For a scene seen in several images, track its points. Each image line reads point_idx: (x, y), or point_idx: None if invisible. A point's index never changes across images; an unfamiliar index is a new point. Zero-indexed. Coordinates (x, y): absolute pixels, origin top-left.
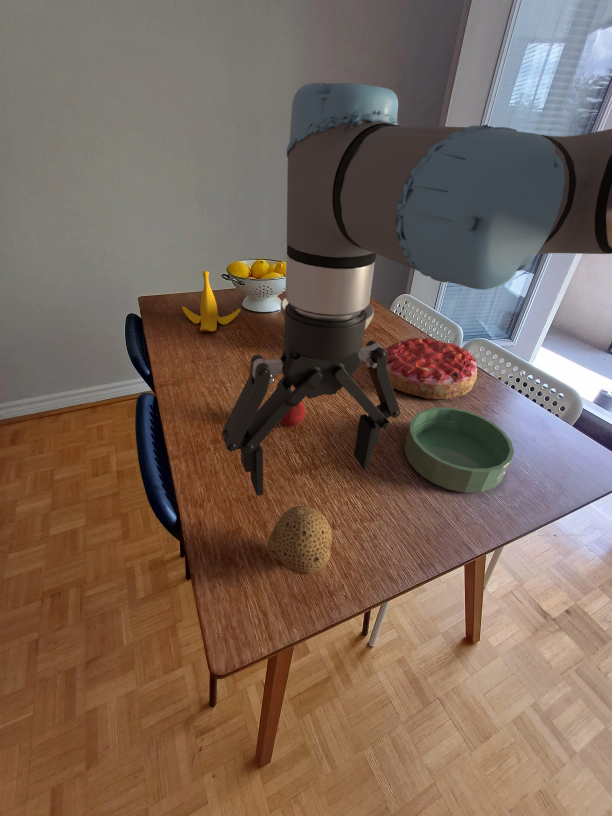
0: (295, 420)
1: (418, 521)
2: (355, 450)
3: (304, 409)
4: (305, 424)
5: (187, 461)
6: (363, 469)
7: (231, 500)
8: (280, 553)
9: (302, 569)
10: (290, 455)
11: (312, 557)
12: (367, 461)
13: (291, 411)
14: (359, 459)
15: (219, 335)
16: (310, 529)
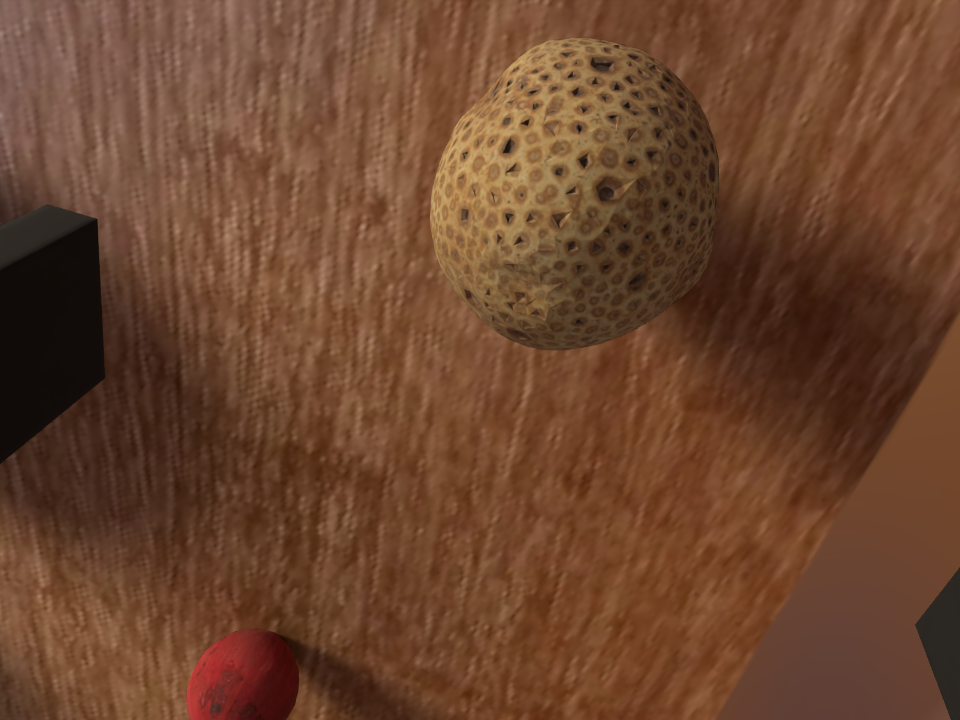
0: (252, 653)
1: (46, 22)
2: (57, 402)
3: (195, 676)
4: (223, 611)
5: (675, 705)
6: (95, 219)
7: (644, 510)
8: (718, 192)
9: (670, 74)
10: (346, 542)
11: (617, 78)
12: (6, 244)
13: (247, 697)
14: (73, 315)
15: None
16: (567, 186)
